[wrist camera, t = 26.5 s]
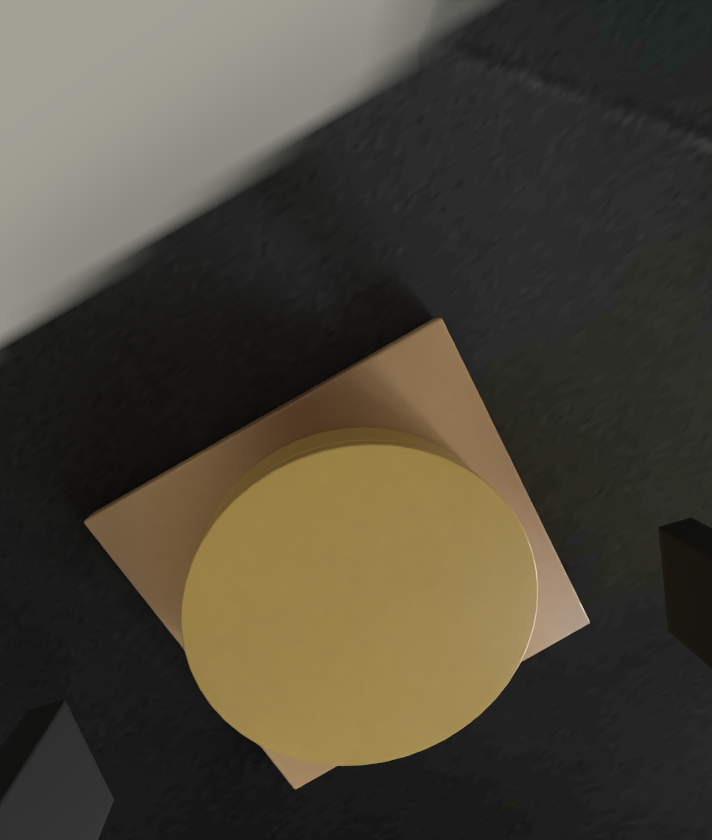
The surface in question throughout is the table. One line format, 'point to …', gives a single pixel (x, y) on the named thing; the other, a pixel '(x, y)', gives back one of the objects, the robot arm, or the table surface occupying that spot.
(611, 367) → the table surface
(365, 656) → the jar lid
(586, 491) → the table surface
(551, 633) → the coaster
